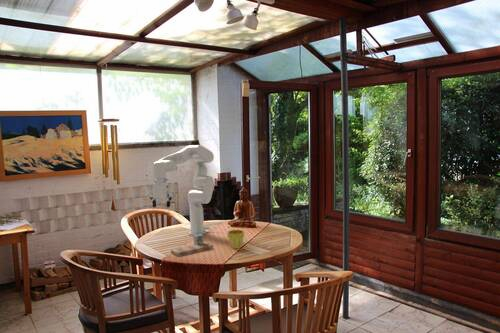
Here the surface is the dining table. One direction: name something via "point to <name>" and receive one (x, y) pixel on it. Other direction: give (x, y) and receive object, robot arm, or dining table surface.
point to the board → (191, 249)
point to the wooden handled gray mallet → (199, 240)
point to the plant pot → (236, 238)
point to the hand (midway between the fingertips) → (161, 207)
